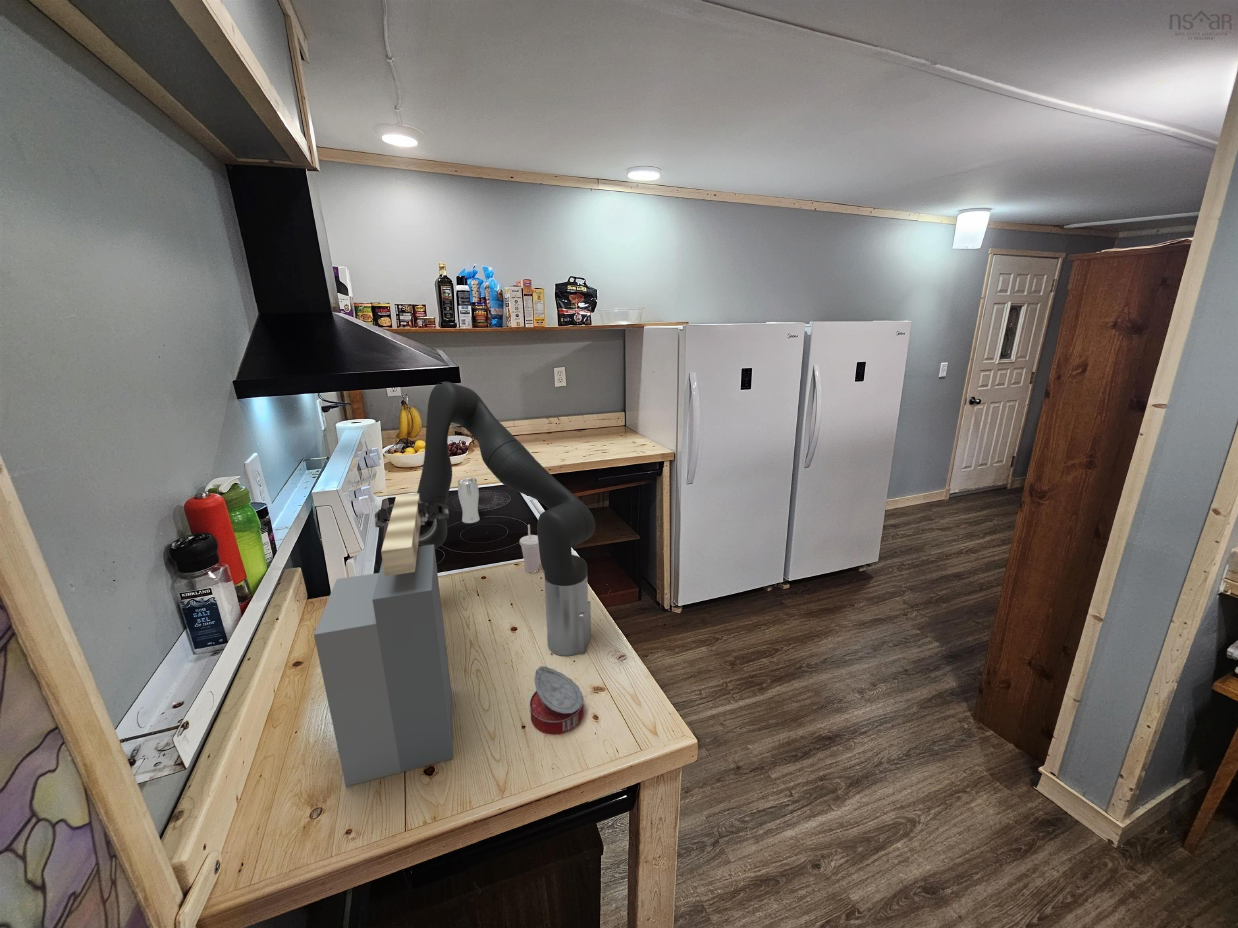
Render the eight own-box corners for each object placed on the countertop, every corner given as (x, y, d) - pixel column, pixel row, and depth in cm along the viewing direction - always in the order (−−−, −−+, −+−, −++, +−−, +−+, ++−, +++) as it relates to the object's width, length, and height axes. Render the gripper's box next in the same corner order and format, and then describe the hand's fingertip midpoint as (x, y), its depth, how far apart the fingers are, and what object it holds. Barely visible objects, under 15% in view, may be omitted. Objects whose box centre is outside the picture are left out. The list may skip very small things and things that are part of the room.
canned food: (552, 713, 98) (565, 661, 99) (589, 735, 91) (602, 679, 93) (508, 720, 89) (522, 664, 91) (545, 745, 83) (560, 684, 84)
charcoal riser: (361, 712, 92) (332, 557, 82) (451, 692, 97) (434, 544, 87) (345, 786, 77) (308, 609, 68) (452, 758, 82) (431, 590, 73)
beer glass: (460, 524, 174) (456, 484, 169) (461, 517, 180) (457, 478, 176) (481, 522, 175) (477, 482, 171) (480, 515, 182) (477, 476, 178)
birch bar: (399, 515, 93) (396, 495, 92) (421, 512, 94) (419, 493, 93) (385, 576, 71) (381, 551, 70) (414, 571, 72) (411, 547, 71)
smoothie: (533, 562, 147) (531, 519, 143) (548, 569, 143) (546, 524, 139) (516, 570, 143) (513, 526, 139) (531, 577, 139) (528, 532, 135)
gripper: (378, 508, 102) (360, 492, 86) (450, 499, 106) (446, 483, 90) (380, 544, 100) (363, 535, 84) (454, 534, 104) (450, 523, 88)
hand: (406, 508), depth 87 cm, fingers closed on birch bar, 4 cm apart
